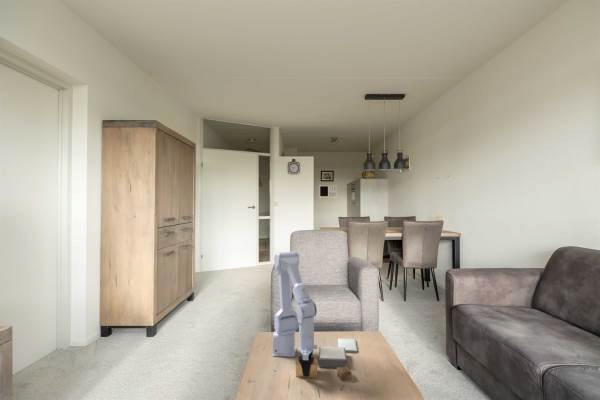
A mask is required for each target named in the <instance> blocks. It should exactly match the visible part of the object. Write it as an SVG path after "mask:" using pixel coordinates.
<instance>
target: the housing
mask: <svg viewBox="0 0 600 400" xmlns="http://www.w3.org/2000/svg"><path fill="white" fill-rule="evenodd" d="M318 368H319V365H318V359H317V358H314V360H313V362H312V364H311V368H310V374H309V377H308V376H303V372H302V367H301V364H300V362H299V360H298V358H296V361H295V378H311V379H314V378H315V379H316V378H318V373H319V372H318Z"/></svg>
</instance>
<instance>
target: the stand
mask: <svg viewBox="0 0 600 400" xmlns="http://www.w3.org/2000/svg"><path fill="white" fill-rule="evenodd" d="M318 348H319V351H318V352H319V353H318V368H330V369H331V368H332V369H337V368H338V367H344V366H347V367H348V360H347V359H348V358H347V353H346V351H345V348H344V347H338V346H336V347H335V346H320V347H318Z"/></svg>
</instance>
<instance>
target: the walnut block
mask: <svg viewBox="0 0 600 400" xmlns="http://www.w3.org/2000/svg"><path fill="white" fill-rule="evenodd" d="M336 375H337V377H338V379H339V380H340V381H341V382H343V381H351V380H352V370H351V369H350V368H349V366H348V365H347V366H344V367H338V368H336Z"/></svg>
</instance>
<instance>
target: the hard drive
mask: <svg viewBox="0 0 600 400" xmlns="http://www.w3.org/2000/svg"><path fill="white" fill-rule="evenodd" d="M337 347H344V348H345V351H346V354H348V353H349V354H358V348H357V341H356V339H355V338H338V339H337Z"/></svg>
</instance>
